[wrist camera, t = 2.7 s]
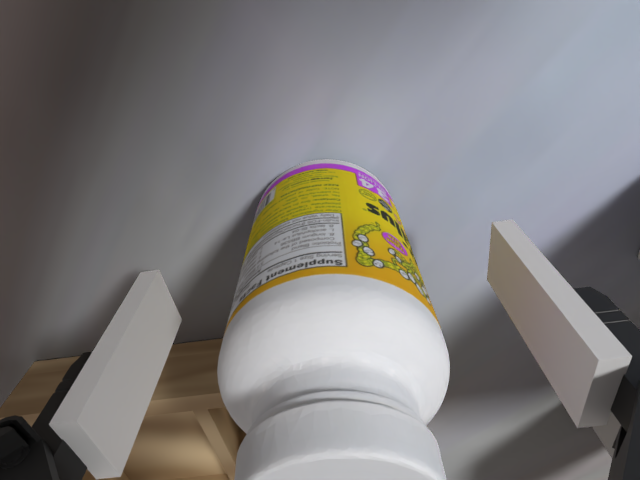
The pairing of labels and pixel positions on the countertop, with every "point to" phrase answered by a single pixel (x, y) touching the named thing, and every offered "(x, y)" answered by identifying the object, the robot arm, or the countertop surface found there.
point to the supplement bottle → (332, 336)
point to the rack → (159, 416)
